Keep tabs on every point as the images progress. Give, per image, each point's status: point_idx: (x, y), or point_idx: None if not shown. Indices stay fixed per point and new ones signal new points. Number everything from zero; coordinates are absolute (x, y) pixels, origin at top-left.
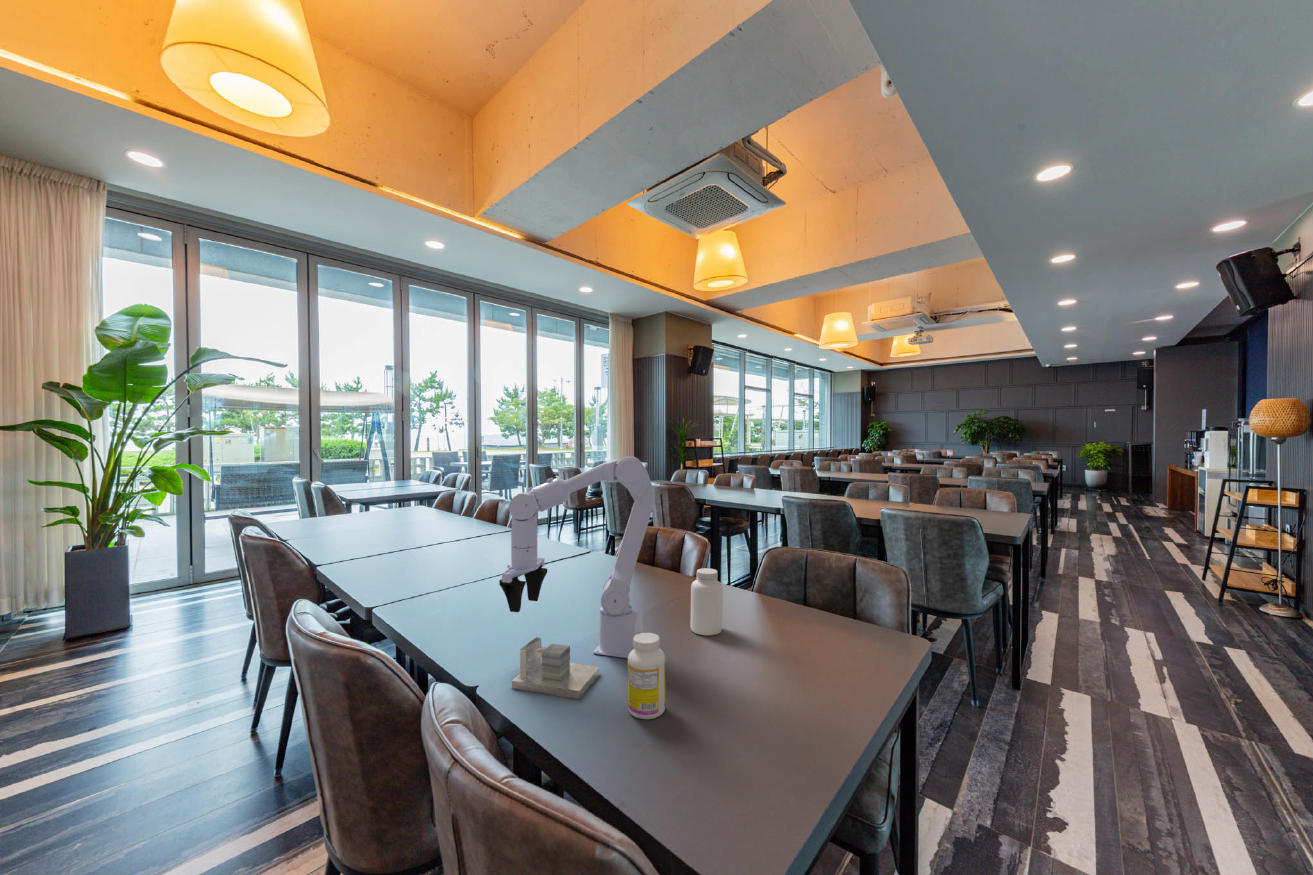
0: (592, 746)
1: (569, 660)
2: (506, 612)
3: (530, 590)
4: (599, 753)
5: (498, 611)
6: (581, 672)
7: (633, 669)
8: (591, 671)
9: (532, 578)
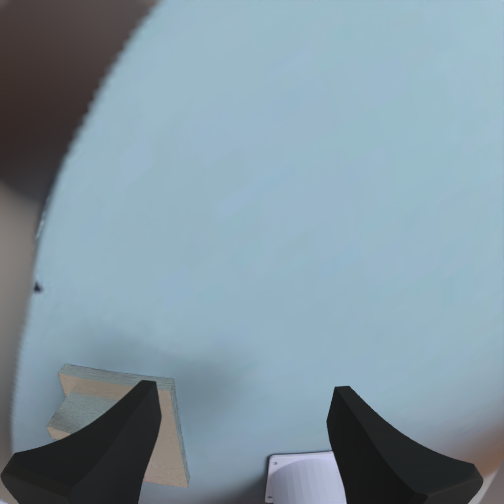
0: None
1: None
2: (500, 92)
3: (349, 433)
4: None
5: (497, 65)
6: (152, 470)
7: None
8: (164, 481)
9: (368, 501)
